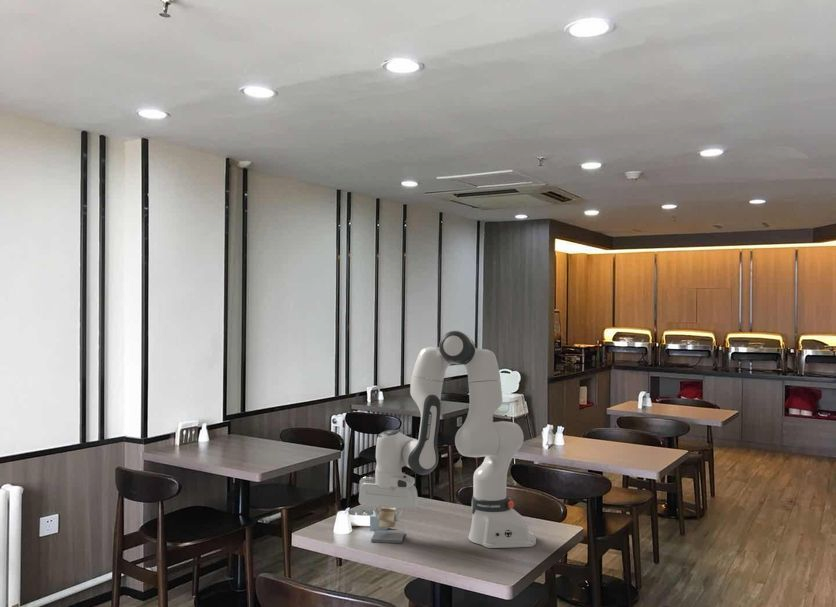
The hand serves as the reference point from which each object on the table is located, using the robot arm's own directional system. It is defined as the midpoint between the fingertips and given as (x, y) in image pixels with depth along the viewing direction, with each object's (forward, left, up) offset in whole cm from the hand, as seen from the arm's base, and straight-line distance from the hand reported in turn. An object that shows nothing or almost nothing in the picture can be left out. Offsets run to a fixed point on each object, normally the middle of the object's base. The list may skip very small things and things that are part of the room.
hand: (387, 519), depth 229 cm
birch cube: (0, 0, -2) cm, 2 cm away
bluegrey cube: (+4, -8, -6) cm, 11 cm away
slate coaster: (0, +1, -6) cm, 6 cm away
